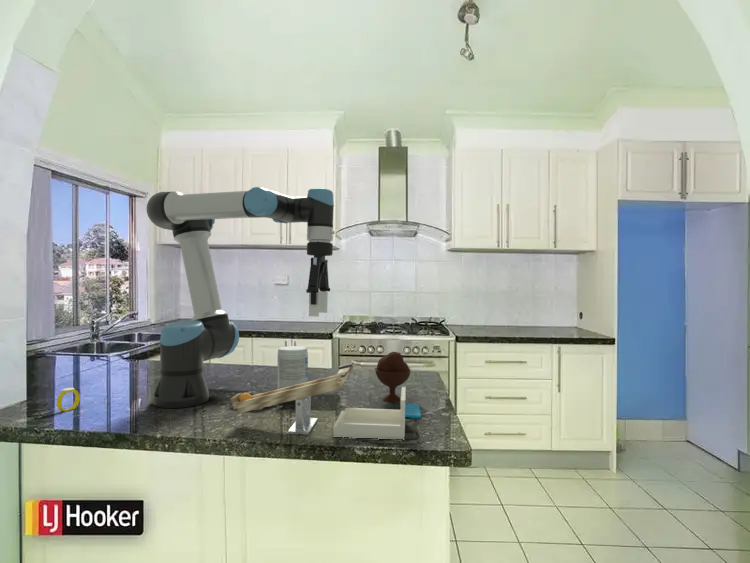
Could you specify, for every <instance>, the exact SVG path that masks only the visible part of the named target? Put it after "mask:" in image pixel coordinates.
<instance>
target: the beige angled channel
mask: <svg viewBox="0 0 750 563" xmlns="http://www.w3.org/2000/svg"><path fill="white" fill-rule="evenodd" d="M354 364H355V363H354V361H352V362H347V363H344V364H340V365H339V366H338V367H337V368H338V371H337V373H335V374H332V375H331V376H327V377H324V378H318V379H315V380H314V379H313V380H310V381H308V382H306V383H302V384H298V385H294V386H289V387H285V388H281V389H278V388H277V389H274V390H269V391H264V392H260V393H261V394H257V395H253V396H251V399H249V400H245V401H239V397H240V395H241V394H242V393H243V392H238V393H236V394H237V395H233V396H232V397H230V402H231V405H232V410H237V413H238V414H242V413H246V412H250V411H256V410H255V409H259V408H263V409H264V408H266V407H267V406H270V407H271V406H275V405H280V404H283V403H287V402H292V401H296V399H297V398H305V397H309V396H311V397H313V396H317V395H321V394H325V393H329V392H333V391H338V390H341V388H342V386H343V385H344V383H345V382H346V380H347V379H348V377H349V376H350V374H351V373H352V372H353V369H354ZM267 408H268V407H267Z"/></svg>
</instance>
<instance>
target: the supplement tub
mask: <svg viewBox="0 0 750 563" xmlns="http://www.w3.org/2000/svg"><path fill="white" fill-rule="evenodd" d="M308 357H309V352H308V347H307V346H303V345H301V346H300V345H290V346H289V345H288V346H287V345H286V346H282V347H278V348H277V389H281V388H285V387H289V386H294V385H298V384H302V383H306V382H309V368H308V367H309V365H308V364H309V358H308Z"/></svg>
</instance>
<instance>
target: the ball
mask: <svg viewBox="0 0 750 563" xmlns="http://www.w3.org/2000/svg"><path fill="white" fill-rule="evenodd" d="M241 393H242V394H241V395H240V397H239V401H245V400H249V399H251V395H250V394H249V393H247V392H241Z"/></svg>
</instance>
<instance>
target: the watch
mask: <svg viewBox="0 0 750 563" xmlns="http://www.w3.org/2000/svg"><path fill="white" fill-rule="evenodd" d="M68 393H73V394H74V397H75V399H74V402H73V404H72V405H71V407H69V408H65V409H64V408H63V405H62V400H63V398H64V396H65V395H66V394H68ZM80 401H81V396H80V393H79V391H78V390H76V389H75V388H74V387H65V388H62V390H61V392H60V393H59V394H58V397H57V398H56V407H57V409H58V410H59V411H60V412H63V413H64V412H66V413H67V412H69V411H72V410H75V409H76V408H77V407H78V406H79V403H80Z"/></svg>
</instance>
